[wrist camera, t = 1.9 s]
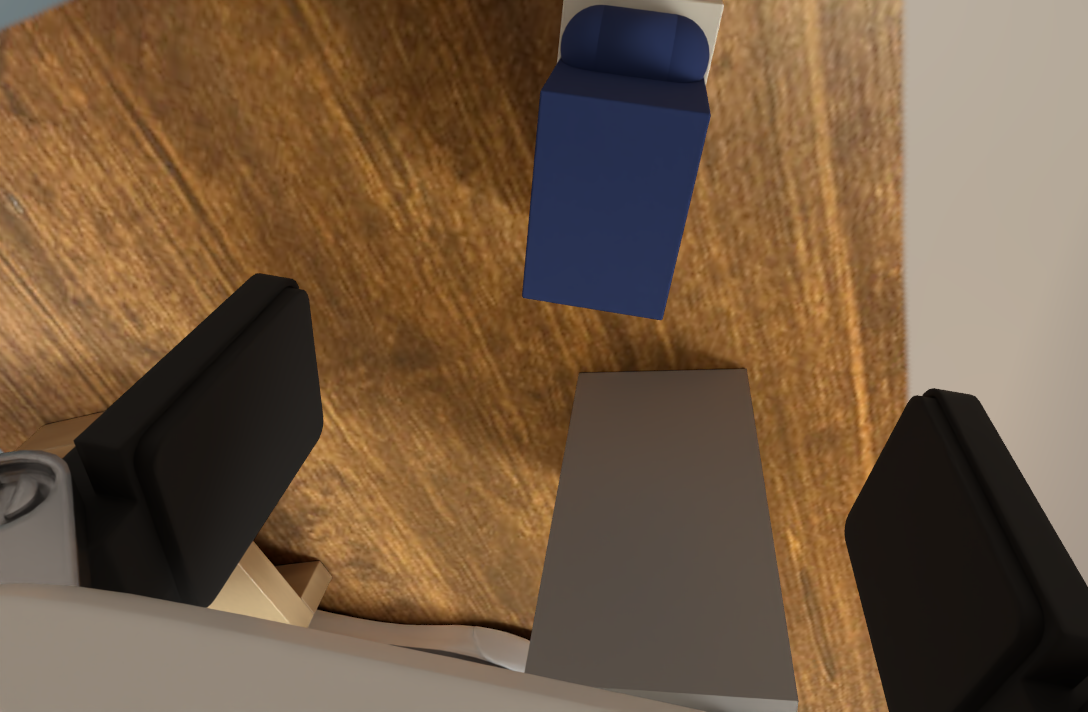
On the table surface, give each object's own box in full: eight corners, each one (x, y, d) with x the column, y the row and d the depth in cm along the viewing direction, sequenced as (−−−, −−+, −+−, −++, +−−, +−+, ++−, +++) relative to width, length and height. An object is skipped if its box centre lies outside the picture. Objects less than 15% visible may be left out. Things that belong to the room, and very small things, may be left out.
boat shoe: (610, 645, 39) (599, 801, 33) (590, 719, 44) (575, 867, 38) (210, 566, 41) (121, 700, 34) (235, 646, 46) (161, 777, 39)
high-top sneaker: (666, 244, 25) (665, 327, 20) (544, 225, 25) (515, 303, 20) (721, -3, 20) (737, 34, 15) (569, -22, 20) (540, 8, 16)
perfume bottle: (742, 489, 31) (808, 1036, 16) (594, 487, 32) (533, 992, 18) (746, 369, 27) (836, 940, 13) (579, 372, 28) (483, 892, 14)
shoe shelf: (43, 424, 36) (-19, 479, 32) (190, 391, 33) (138, 448, 29) (199, 591, 43) (161, 649, 39) (332, 576, 40) (302, 638, 36)
